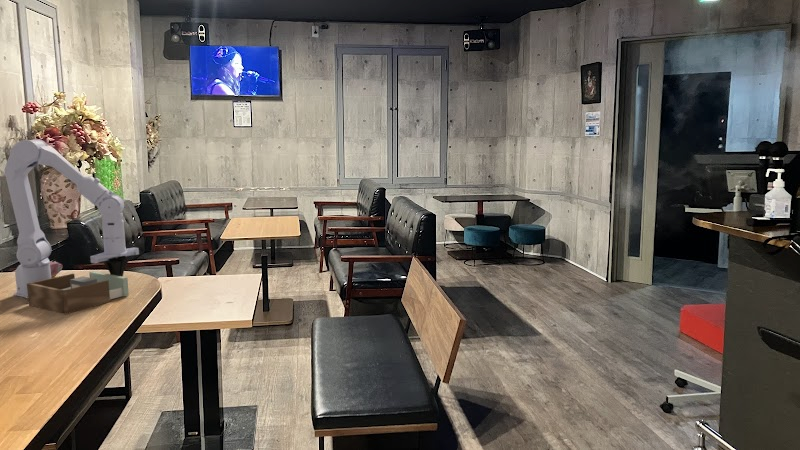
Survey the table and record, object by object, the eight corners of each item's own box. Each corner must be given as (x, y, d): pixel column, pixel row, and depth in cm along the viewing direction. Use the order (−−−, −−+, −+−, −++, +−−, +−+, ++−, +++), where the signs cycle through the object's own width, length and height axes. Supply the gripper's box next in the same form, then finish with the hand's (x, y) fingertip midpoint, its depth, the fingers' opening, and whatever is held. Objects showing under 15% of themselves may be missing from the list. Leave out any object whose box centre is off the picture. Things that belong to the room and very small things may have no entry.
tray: (51, 299, 175) (49, 281, 174) (98, 287, 188) (96, 270, 187) (85, 307, 168) (83, 288, 167) (131, 294, 180) (130, 276, 179)
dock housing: (28, 305, 170) (26, 283, 169) (74, 293, 182) (72, 273, 181) (64, 314, 162) (62, 291, 162) (110, 301, 174) (108, 280, 173)
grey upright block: (84, 299, 172) (83, 282, 172) (71, 296, 175) (69, 279, 175) (98, 296, 176) (96, 278, 175) (84, 293, 179) (83, 276, 178)
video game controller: (37, 289, 193) (44, 269, 191) (25, 282, 193) (32, 262, 191) (60, 281, 202) (67, 262, 201) (48, 274, 203) (55, 255, 201)
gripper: (100, 242, 174) (104, 290, 176) (144, 234, 187) (147, 279, 189) (84, 240, 178) (88, 287, 180) (128, 232, 190) (131, 276, 192)
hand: (117, 282), depth 184 cm, fingers closed
